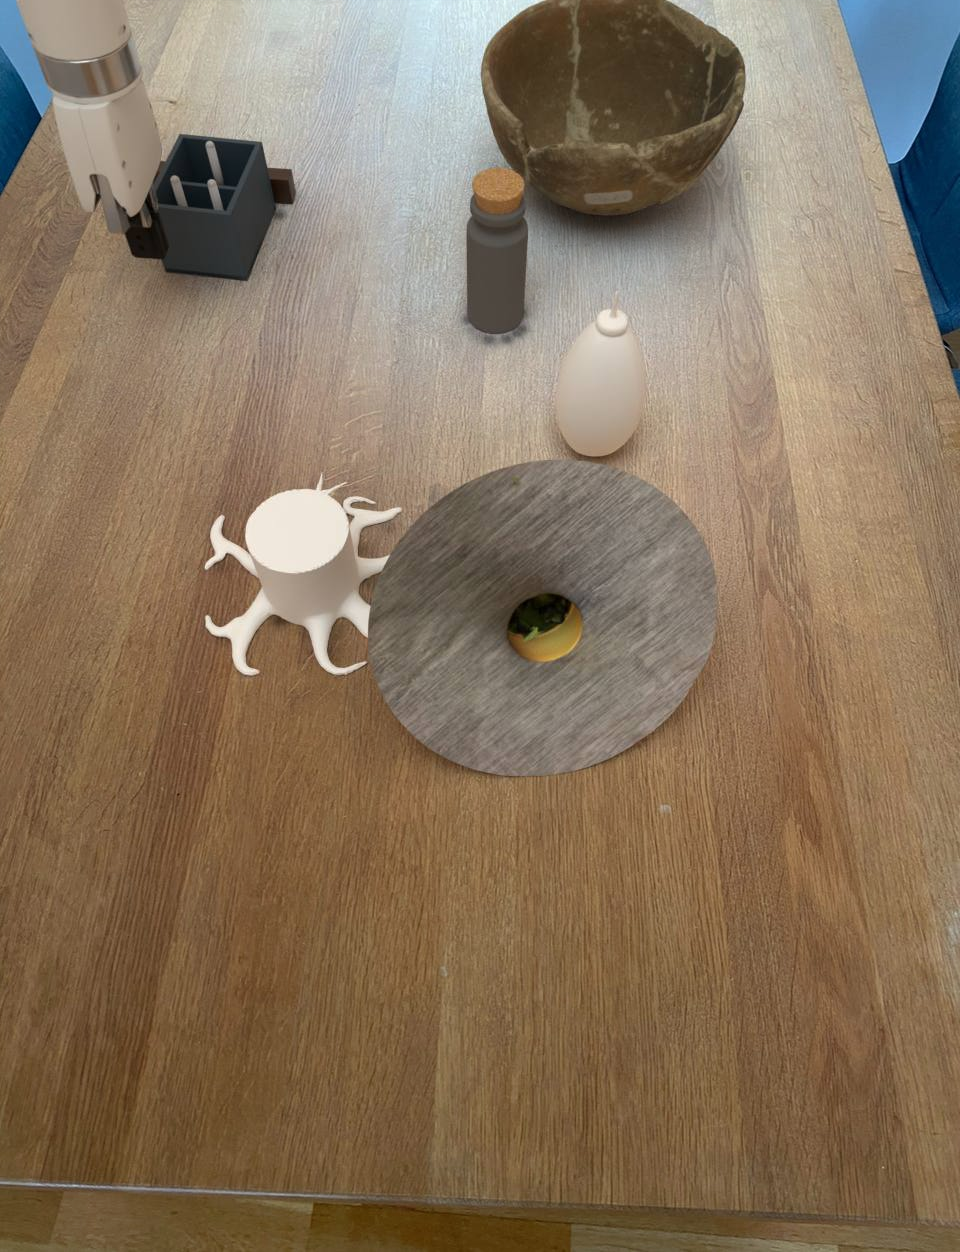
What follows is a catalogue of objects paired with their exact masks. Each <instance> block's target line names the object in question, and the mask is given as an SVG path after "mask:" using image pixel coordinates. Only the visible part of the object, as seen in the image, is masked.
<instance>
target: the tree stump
mask: <svg viewBox="0 0 960 1252" xmlns="http://www.w3.org/2000/svg"><path fill="white" fill-rule="evenodd" d="M323 474H324V473H323V471H322V472H321V473H320V478H319V481H318V482H317V486H316V489H310V488H299V489H297V488H293V489H291V490H288V489H287V490H285V491H284V492H283V491H281V492H279V493H276V494H274V495H272V496H270V497H269V498H267V499H265V500H264V501H263V502H261V503H260V505H258V506H257V507H255V510H254V511H253V512H252V513H251V514H250V516H249V518H248V519H247V522H246V526H245V532H244V533H245V535H244V539H245V543H246V547H247V550H248V551H246V550H245V549H244V548H243V547H241V546H240V545H238V544H236V543H234V542H232V541H231V540H228V539H227V538H225V537H224V536H223V532H222V529H223V526H224V521H225V519H226V516H225V515H223V514H220V515H219V516H217V518H216V520H215V521H214V522H213V524H212V527H211V529H210V534H209V536H210V542H211V546H212V548H213V551H214V556H212V557H211V558H209V559H207V561H205V564H204V570H205V571H208V570H210V568H212V567H213V565H215V564H217V563H219V562H221V561H223V560H224V558H225V557H226V555H227V554H229V555H231V556H233V558H234V559H236V560H237V561H238V562H239V563H240V564H241V566H243V568H244V569H245V570H247V571H248V572H249V573H250V574H251V575H253V576H254V577H256V578H257V579H259V580H258V581H259V582H260V585H261V588H260V589H259V592H258V593H257V595H256V597H255V599H254V600H253V602H252V603H251V604H250V606H249V607H248V609H247V610H246V611H245V613H244V614H243V615H241V616H236V617H235V618H233V619H232V620H230V621H229V622H228V623H227V624H225V625H223V626H217V625H216V624H215V623H214V622H213V620H212V618H211V616H210V615H208V614H206V615H205V617H204V620H205V628H206V629H207V630H208V631H209V633H210V634H211V635H212V636H214V637H218V638H227V639H229V640H230V642H231V654H232V655H231V658H232V660H233V661H232V662H233V664H234V666H235V668H236V669H237V670H238V671H239V672H240V673H241V674H243V675H244V676H250V677H251V676H256V675H259V674H260V672H261V670H259V669H258V668H257V669H256V668H254V667H249V666H248V663H247V656H246V654H247V652H248V649H249V647H250V644H251V642H252V640H253V638H254V636H255V634H256V632H257V631H258V630H259V629H260V627H261V626H262V624H263V623H264V622H265V621H266V620H267V619H269V617H272V616H274V615H275V616H277V617H280V618H281V619H282V620H285V621H287V622H289V623H291V624H293V625H299V626H301V627H304V628H305V630H307V631H308V634H309V637H310V640H311V645H312V649H313V653H314V657H315V659H316V661H317V662H318V664H319V666H320V667H321V668H323V669H324V670H325V671H326V672H327V673H330V674H332V675H333V676H343V675H344V676H348V674H351V673H353V672H354V671H356V670H358V669H360V668H361V667H363V666H365V665H366V664H367V663H368V661H367V660H364V661H361V662H357V663H354V664H352V665H350V666H346V667H337V666H336V665H334V664H333V663H332V662H331V660H330V658H329V653H328V647H329V640H330V635H331V633H332V630H333V629H332V628H333V626H334V624H335V623H336V621H337V620H338V619H342V618H344V619H347V620H348V621H349V622H351V623H352V624H353V625H354V626H355V628H356V629H357V630H358V631H359V632H360V633H361V635H363V636H364V637H365V638H367V639H368V620H369V612H370V606H371V604H369V603H368V602H366V601H365V599H363V598H362V597H361V595H360V586H361V584H362V582H363V581H364V580H366V579H370V578H371V577H372V576H374V575H377V574H379V573H380V574H381V572H382V569H383V567H384V565H385V563H386V561H387V560H388V558H389V556H390V554H388V555H386V556H382V557H377V558H369V557H368V558H367V557H361V556H359V545H360V536H361V533H362V530H363V529H364V528H367V527H369V526H372V525H378V524H380V523H384V522H388V521H391V520H393V519H394V518H395V517H396V516H397V515H398V514H401V513H402V512H403V508H402V507H401V506H397V507H393V508H390V509H388V510H385V511H384V510H383V511H376V510H370V509H364V508H363V509H362V508H357V507H355V508H354V507H352V506H351V504H353V503H357V502H359V503H360V502H361V503H362V502H366V503H368V504H370V505H376V501H375V500H371V499H369V498H366V497H363V496H358V495H355V496H349V497H347V498H345V499H344V500H343V502H342V505H341V504H340V503H339V502H338V501H337V500H336V499H335V498H333V497H332V496H330V495H331V494H333V493H334V492H336V491H338V490H339V489H340V488H342V487H343V486H344V485H346V484H347V483H348V481H345V482H342V483H340V484H336V485H334V486H333V487H331V488H327V489H322V485H323ZM348 515H350V516H352V517H353V519H351V521H350V522H349V519H348Z"/></svg>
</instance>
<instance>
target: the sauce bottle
mask: <svg viewBox="0 0 960 1252" xmlns="http://www.w3.org/2000/svg"><path fill="white" fill-rule="evenodd" d="M618 306H619V291H617V290H616V291H615V293H614V295H613V299H612V303H611V308H606V309H603V310H601V311H599V312H598V314H597V316H596V317H595V320H593V321H592V322H590V324H588V325H587V326H585V328H584V329H583V330H582V331H581V332H580V333H579V334H578V336H577V337H576V339H575V340H574V341H573V343H572V344H571V346H570V348H569V349H568V351H567V354H566V356H565V358H564V360H563V362H562V365H561V367H560V370H559V374H558V377H557V383H556V387H555V394H554V395H555V396H554V397H555V398H554V405H555V408H554V409H555V418H556V420H557V421H556V422H557V425H558V428H559V431H560V433H561V435H562V437H563V439H564V440H565V442H566V443H567V444H568V446H569V447H570V448H571V449H572V450H573V451H574V452H576V453H578V454H580V455H582V456H587V457H604V456H607V455H610V454H612V453H614V452H616V451H618V450H619V449H620V448H621V447H623V446H624V445H625V444H626V443H627V442H628V441H629V440H630V438H631V437H632V435H634V432H635V431H636V429H637V427H638V425H639V423H640V421H641V418H642V415H643V411H644V407H645V400H646V395H647V394H646V393H647V378H646V377H647V375H646V366H645V361H644V356H643V352H642V349H641V346H640V343H639V341H638V338H637V336H636V334H635V332H634V331H633V329H632V328H631V326H630V325H629V318H628V316H627V315H626V313H625V312H624V311H622V310H620V309H618Z"/></svg>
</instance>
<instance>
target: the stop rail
mask: <svg viewBox="0 0 960 1252" xmlns="http://www.w3.org/2000/svg"><path fill="white" fill-rule="evenodd" d="M165 161H166V160H161V161H160V164H159V167H158V169H157V172H156V175H155V177H154V180H153V182H154V183H155V181H156V179H157V177H158V175H159V173H160V171H161V169H162V167H163V165H164V163H165ZM267 168H268V173H269V178H270V183H271V187H272V192H273V197H274V202H275V204H288V205H289V204H290V205H292V204H294V201H295V199H296V194H297V191H296V186H295V185H296V184H295V179H294V175H293V170H292V168H280V167H267Z"/></svg>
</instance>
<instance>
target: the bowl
mask: <svg viewBox="0 0 960 1252" xmlns="http://www.w3.org/2000/svg"><path fill="white" fill-rule="evenodd" d="M745 65H746V64H745V60H744V58H743V55H742V53H741V51H740V48H739V47H738V46H736V44H735V43H734V41H733V40H731V39H730V38H729V37H728V36H727V35H724V34H723V33H721V32H720V31H719V30H718V29H717V28H716V27H714V26H712V25H708V24H705V23H704V22H703V21H702V20H701V19H700V18H698V17H697V16H695V15H694V14H692V13H690V12H689V11H687V10H686V9H683V8H681V7H680V6H678V5H677V4H675V3H674V2H671V1H670V0H542V1H540V2H537V3H535V4H532V5H530V6H528V7H526V8H525V9H523V10H521V11H520V12H519V13H517V14H516V15H515V16H514V17H512V18H511V19H510V20H509V21H508V22H506V23H505V24H504V25H503V26H502V27H501V28H500V29H499V30H498V31H496V33H495V34H493V36H492V37H491V39H490V40H489V42H488V43H487V45H486V47H485V49H484V53H483V57H482V60H481V66H480V82H481V88H482V89H481V90H482V95H483V98H484V103H485V107H486V112H487V116H488V120H489V125H490V127H491V131H492V134H493V137H494V139H495V142H496V144H497V146H498V149H499V151H500V153H501V156H502V157H503V158H504V160H505V161H506V162H507V164H508V165H509V166H510V167H511V170H512V171H514V172H516V173H518V174H519V175H520V176H521V177H522V178H523V180H524V182H525V183H527V184H528V185H529V186H530V187H532V188H533V189H535V190H536V191H537V192H539V193H540V194H542V195H544V196H545V197H546V198H548V199H550V200H551V201H554V202H555V203H557V204H559V205H560V206H563V207H565V208H567V209H570V210H573V211H576V212H579V213H583V214H587V215H595V216H617V215H626V214H631V213H634V212H637V211H641V210H644V209H647V208H649V207H651V206H653V205H658V206H659V205H663V204H666V203H667V202H669V201H671V200H673V199H675V198H677V197H678V196H680V195H681V194H683V193H685V192H687V191H688V190H689V189H691V187H693V186H694V185H695V184H696V183H698V180H699V179H700V178H701V177H702V175H703V174H704V172H705V170H706V169H707V168H708V167H709V166H710V165H711V163H712V162H713V160H714V159H715V158H716V157H717V155H718V153H719V152H720V151H721V149H722V147H723V146H724V145H725V142H726V141H727V140H728V138H729V136H730V134H731V133H732V132H733V130H734V128H735V127H736V124H737V123H738V121H739V118H740V116H741V115H742V112H743V109H744V105H745V102H744V94H745V90H746V81H747V79H746V78H747V77H746V75H747V74H746V66H745Z"/></svg>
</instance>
